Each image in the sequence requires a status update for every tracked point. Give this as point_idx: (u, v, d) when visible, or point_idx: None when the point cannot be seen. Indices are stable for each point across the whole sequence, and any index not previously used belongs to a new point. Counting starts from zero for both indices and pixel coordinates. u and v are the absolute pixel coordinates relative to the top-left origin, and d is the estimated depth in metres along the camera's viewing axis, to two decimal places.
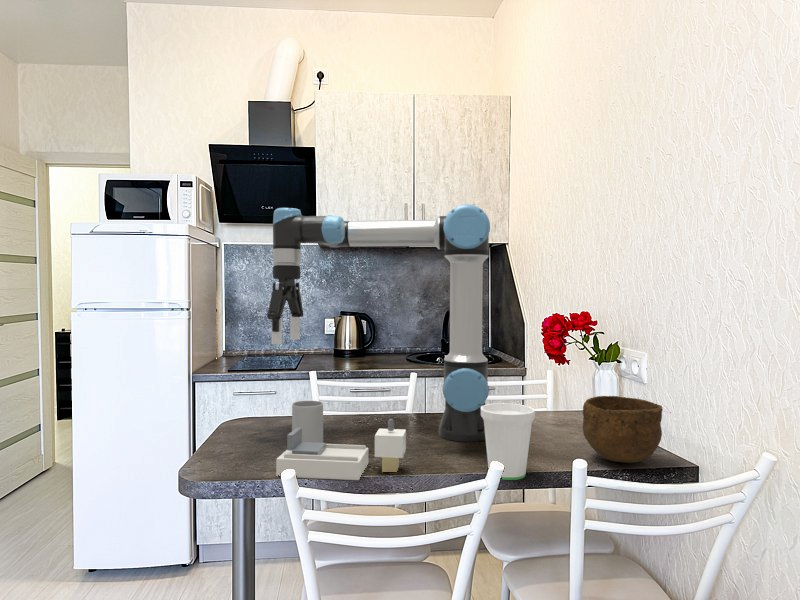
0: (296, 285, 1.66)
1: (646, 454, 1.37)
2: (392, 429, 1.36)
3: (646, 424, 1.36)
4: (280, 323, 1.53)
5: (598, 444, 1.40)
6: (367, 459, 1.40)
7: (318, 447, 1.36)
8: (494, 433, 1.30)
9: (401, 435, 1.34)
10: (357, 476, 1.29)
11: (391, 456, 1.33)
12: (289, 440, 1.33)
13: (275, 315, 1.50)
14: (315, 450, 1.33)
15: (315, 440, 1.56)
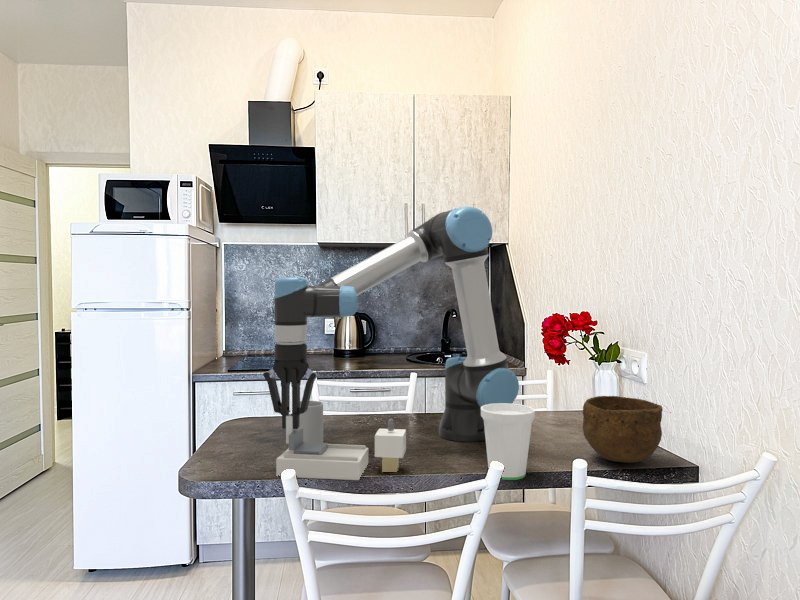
0: (311, 374, 1.36)
1: (646, 454, 1.37)
2: (392, 429, 1.36)
3: (646, 424, 1.36)
4: None
5: (598, 444, 1.40)
6: (367, 459, 1.40)
7: (319, 447, 1.36)
8: (494, 433, 1.30)
9: (401, 435, 1.34)
10: (357, 476, 1.29)
11: (391, 456, 1.33)
12: (290, 440, 1.33)
13: None
14: (316, 450, 1.33)
15: (315, 440, 1.56)
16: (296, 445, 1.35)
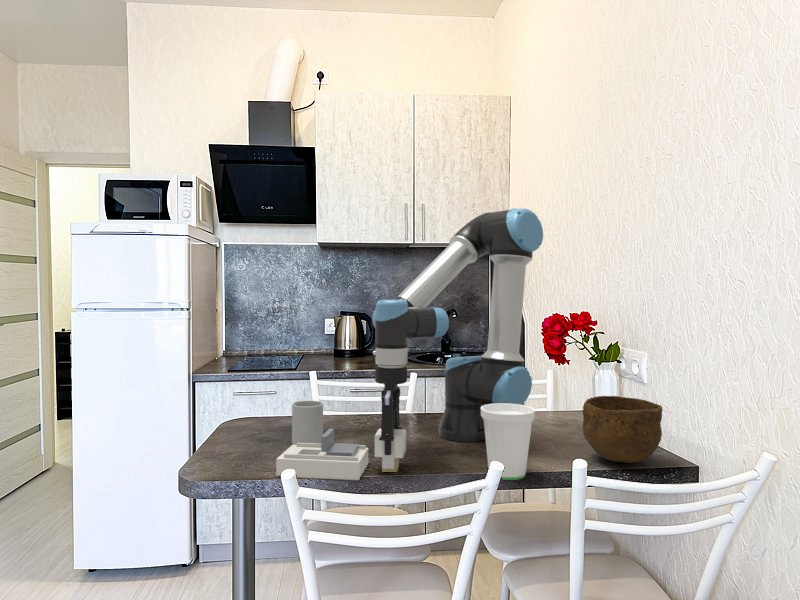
0: (397, 389, 1.41)
1: (646, 454, 1.37)
2: None
3: (646, 424, 1.36)
4: (393, 444, 1.32)
5: (598, 444, 1.40)
6: (367, 459, 1.40)
7: (351, 448, 1.35)
8: (494, 433, 1.30)
9: (401, 435, 1.34)
10: (357, 476, 1.29)
11: None
12: (323, 441, 1.32)
13: (390, 438, 1.29)
14: (349, 452, 1.32)
15: (315, 440, 1.56)
16: (328, 446, 1.34)
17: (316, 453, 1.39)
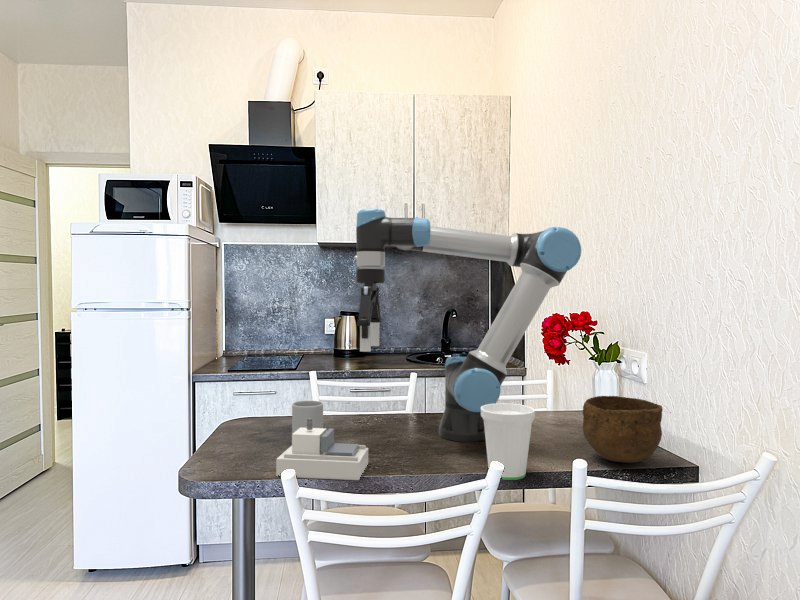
0: (376, 289, 1.59)
1: (646, 454, 1.37)
2: (311, 428, 1.36)
3: (646, 424, 1.36)
4: (369, 329, 1.46)
5: (598, 444, 1.40)
6: (367, 459, 1.40)
7: (351, 448, 1.35)
8: (494, 433, 1.30)
9: (318, 434, 1.34)
10: (357, 476, 1.29)
11: None
12: (323, 441, 1.32)
13: (366, 321, 1.43)
14: (349, 452, 1.32)
15: None
16: (328, 446, 1.34)
17: None
